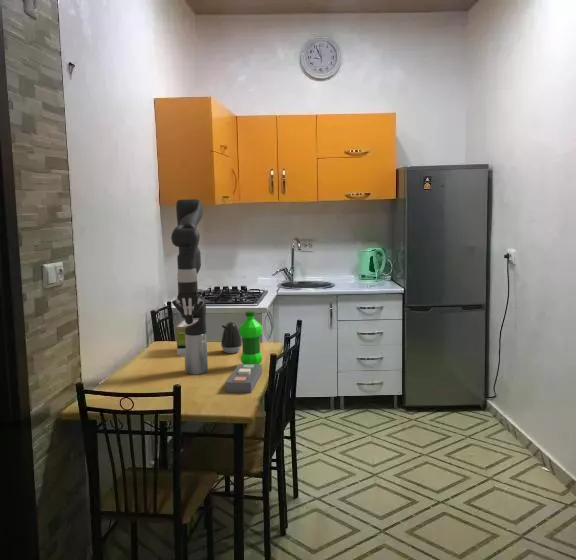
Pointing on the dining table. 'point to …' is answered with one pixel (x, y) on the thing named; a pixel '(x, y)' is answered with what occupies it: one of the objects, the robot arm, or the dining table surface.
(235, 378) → the terracotta button
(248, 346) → the plastic bottle
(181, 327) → the tea box
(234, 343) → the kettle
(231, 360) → the dining table surface
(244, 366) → the green button
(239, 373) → the cream button
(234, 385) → the button panel
